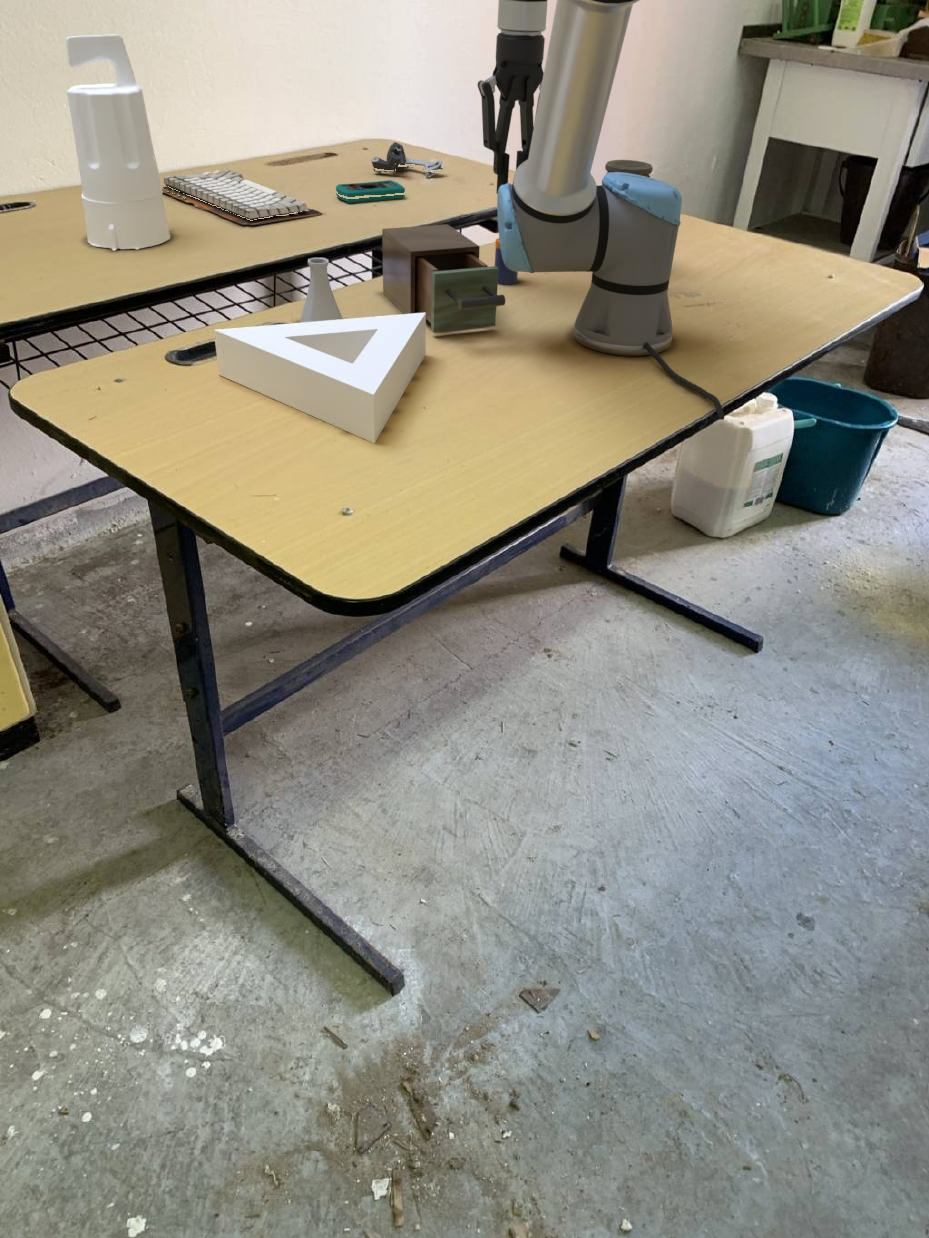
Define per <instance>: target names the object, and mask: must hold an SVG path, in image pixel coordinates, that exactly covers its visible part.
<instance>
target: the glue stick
mask: <svg viewBox="0 0 929 1238" xmlns="http://www.w3.org/2000/svg"><path fill="white" fill-rule="evenodd" d="M494 245H495V251H494V266H496V267H497V268H499V270H498V285H514V284H517V283H518V275H519V273H518V271H512V270H509V269H508V268H507V267H506V266H505V264H504V262H503V258H502V254H501V247H500V240H499V237H498V238H496V239H495V244H494Z"/></svg>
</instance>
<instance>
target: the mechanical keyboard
mask: <svg viewBox="0 0 929 1238" xmlns="http://www.w3.org/2000/svg"><path fill="white" fill-rule="evenodd" d="M163 184H165V185H164V186H162V193H164V194H166V195H169V196H170V197H173V198H175V199H178V200H180V201H181V202H185V203H188V204H193V205H194V207H196V208H199V209H201V210H204V211H208V212H211V213H213V214H214V215H218V216H220V218H223V219H224V218H225V219H227V220H229V221H230V222H231V221H232V222H234V223H236V224H239V225H242V226H247V225H248V226H260V225H264V224H271V223H278V222H284V221H291V220H296V219H303V218H309V217H317V216H322V215H323V213H322V212H320V211H319V210H316V209H313V208H312V209H311V208H309V207H308V206H307V203H306V202H305V201H302V200H300V199H296V198H294V197H291V196H287V195H286V194H283V193H281V192H277V191H276V190H275V189H272V188H269V187H267V186H265V185H263V184H259V183H257V182H254V181H251V180H248V179H245V178H244V177H243V174H242V173H240V172H236V171H235V170H231V169H230V168H225V169H223V170H219V169H216V170H214V171H212V172H211V171H205V172H203V173H199V172H197V173H191V174H189V173H188V174H184V175H182V174H174V175H173V176H171V175H165V176H163ZM166 186H167V187H166ZM168 186H169V187H171V188H173V190H172V189H171V188H169V187H168ZM174 189H176V190H178V191H176V190H174ZM167 191H169V192H167ZM179 191H180V192H179ZM172 193H173V194H172ZM174 193H175V194H174ZM183 193H184V194H183ZM186 194H187V195H191V196H193V197H196V198H199V199H200V200H203V201H205V202H207V203H205V202H203V201H200V200H198V199H195V198H193V197H190V196H187V195H186ZM178 195H180V196H178ZM183 197H184V198H185V197H186V198H185V199H184V198H183ZM208 203H210V204H212V205H216V206H217V207H221V208H222V209H224V210H222V209H221V208H217V207H216V206H212V205H210V204H208ZM225 210H228V211H229V212H228V211H225ZM305 210H309V211H305ZM300 211H302V212H300ZM230 212H231V213H230ZM294 212H298V213H296V214H289V213H294ZM233 213H234V214H233ZM235 214H236V215H235ZM286 214H289V215H286ZM237 215H240V216H242V217H245V218H242V217H240V216H237ZM276 215H286V216H276ZM269 216H273V217H270V218H264V217H269ZM246 218H247V219H250V220H253V221H250V220H247V219H246ZM258 218H264V219H258ZM254 219H257V220H254Z"/></svg>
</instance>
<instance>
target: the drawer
mask: <svg viewBox="0 0 929 1238" xmlns="http://www.w3.org/2000/svg"><path fill="white" fill-rule="evenodd" d="M498 270H499V268H497V267H496V266H495V265H493V266H489V265H488V264H486V263H485V262H484V261H482V260H481V259H480V258H479V259H478V258H477V257H475V256H474V255H472V254H471V253H470V252H465V253H452V254H440V255H427V256H415V309H416V310H417V311H418V312H419V313H424V312H426V321H428V322H429V323H430V331H431V332H432V333H440V332H441V333H442V332H449V331H451V332H452V331H459V330H467V329H476V328H477V329H478V328H485V327H486V328H487V327H494V326H496V320H497V319H496V318H497V307H503V306H505V305H506V297H505V295H504V294H498V287H499V286H498V285H499V283H498Z"/></svg>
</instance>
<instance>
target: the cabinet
mask: <svg viewBox="0 0 929 1238" xmlns="http://www.w3.org/2000/svg"><path fill="white" fill-rule="evenodd" d="M381 231H382V232H381V233H382V234H381V236H382V238H381V240H382V241H381V242H382V246H381V247H382V294H383V295H384V297H386V298H387V299H388V300H389V301H390V302H391V303H392V304H393V305H394V306H395V307H396V308H398V309H399V311H400V312H401V313H402V314H412V313H419V312H418V311H417V310H416V309H415V256H427V255H440V254H452V253H465V252H470V253H471V254H472V255H474V256H475V257H477V258H478V259H479V260H480V245H478V244H477V243H476V242H474V241H473V240H471V239H470V238H468V237H467V236H465V235H464V234H462V233H461V232H459V231H458V230H457V229H455V228H454V227H453V226H451V225H449V224H447V223H446V224H431V225H417V226H403V227H389V228H382V229H381Z"/></svg>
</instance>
